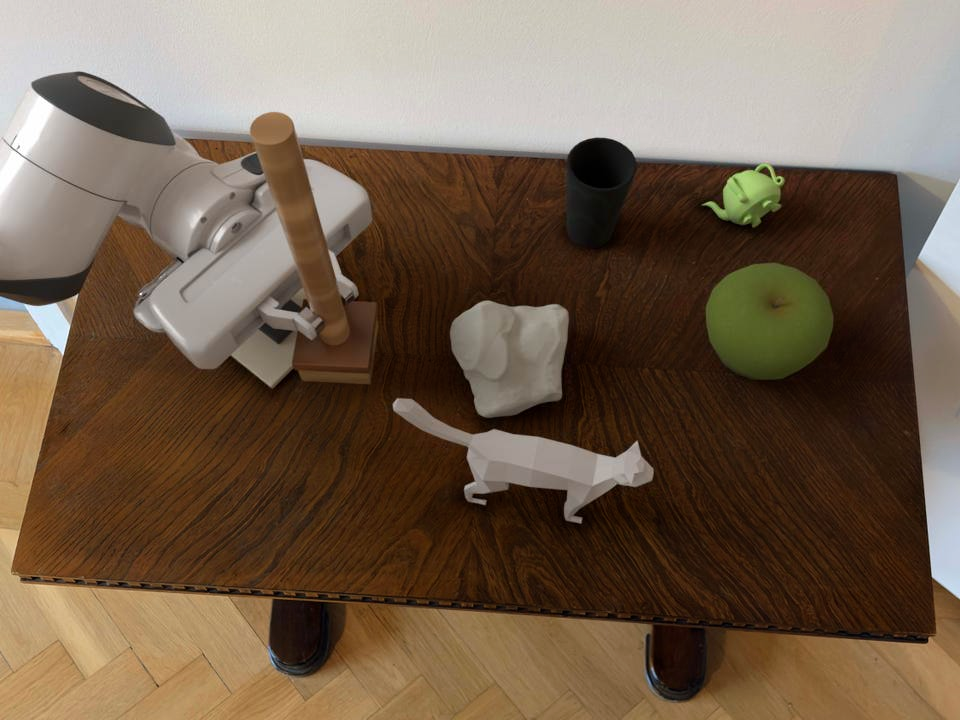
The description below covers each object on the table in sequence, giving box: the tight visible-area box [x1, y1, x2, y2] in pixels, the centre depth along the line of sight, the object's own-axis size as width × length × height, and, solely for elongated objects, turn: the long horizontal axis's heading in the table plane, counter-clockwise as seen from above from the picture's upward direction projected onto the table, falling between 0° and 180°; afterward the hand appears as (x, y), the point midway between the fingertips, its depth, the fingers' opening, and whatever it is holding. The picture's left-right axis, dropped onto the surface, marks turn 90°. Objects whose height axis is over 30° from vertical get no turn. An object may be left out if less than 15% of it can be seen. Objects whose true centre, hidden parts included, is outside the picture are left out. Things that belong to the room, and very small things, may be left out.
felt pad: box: [259, 299, 302, 344], centre depth 80 cm, size 4×4×1 cm
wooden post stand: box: [249, 111, 379, 385], centre depth 62 cm, size 6×6×28 cm
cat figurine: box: [392, 397, 655, 524], centre depth 67 cm, size 4×20×14 cm, turn 78°
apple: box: [705, 262, 834, 381], centre depth 75 cm, size 11×10×10 cm
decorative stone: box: [449, 300, 570, 419], centre depth 76 cm, size 11×9×10 cm
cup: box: [566, 136, 638, 249], centre depth 82 cm, size 6×6×10 cm
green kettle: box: [701, 163, 786, 228], centre depth 84 cm, size 6×5×6 cm
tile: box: [229, 288, 307, 389], centre depth 81 cm, size 11×11×1 cm
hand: (335, 313), depth 68 cm, fingers closed on wooden post stand, 2 cm apart
